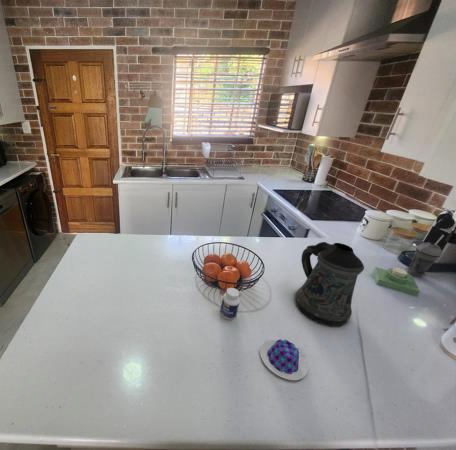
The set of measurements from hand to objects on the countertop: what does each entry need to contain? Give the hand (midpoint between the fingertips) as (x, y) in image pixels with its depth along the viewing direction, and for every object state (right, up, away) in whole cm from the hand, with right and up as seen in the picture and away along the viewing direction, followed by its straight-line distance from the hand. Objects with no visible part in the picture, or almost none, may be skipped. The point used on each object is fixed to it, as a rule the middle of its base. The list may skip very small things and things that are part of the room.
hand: (452, 242), depth 85 cm
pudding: (-67, -32, -16) cm, 76 cm away
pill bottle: (-78, -24, -2) cm, 82 cm away
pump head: (-7, -14, +12) cm, 19 cm away
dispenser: (-8, -19, +14) cm, 24 cm away
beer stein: (-46, -23, +2) cm, 52 cm away
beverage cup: (+9, -15, +22) cm, 28 cm away
